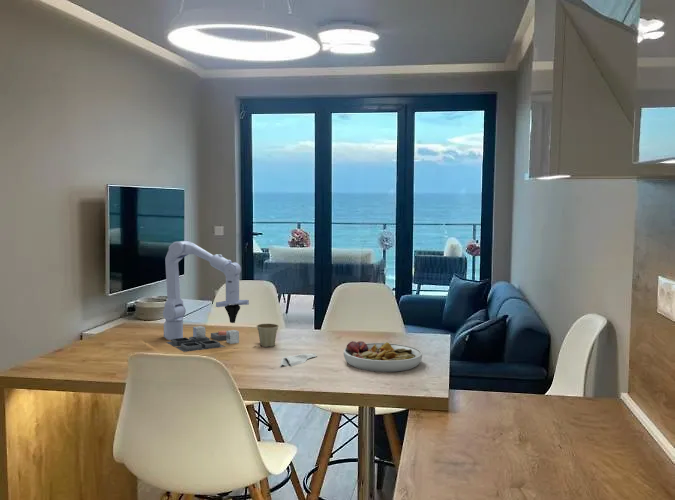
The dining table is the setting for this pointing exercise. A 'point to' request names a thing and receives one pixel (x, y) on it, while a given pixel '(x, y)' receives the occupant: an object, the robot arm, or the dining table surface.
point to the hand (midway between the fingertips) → (232, 322)
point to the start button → (221, 332)
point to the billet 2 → (232, 336)
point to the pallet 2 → (199, 345)
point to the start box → (218, 337)
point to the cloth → (296, 359)
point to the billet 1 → (199, 332)
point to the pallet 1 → (185, 341)
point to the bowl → (382, 356)
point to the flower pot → (267, 334)
